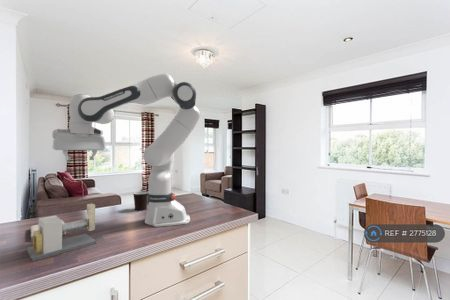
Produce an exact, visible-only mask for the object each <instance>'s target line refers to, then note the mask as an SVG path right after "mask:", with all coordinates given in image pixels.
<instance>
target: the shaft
mask: <svg viewBox="0 0 450 300" xmlns="http://www.w3.org/2000/svg"><path fill="white" fill-rule="evenodd" d="M83 228H86V230H88V232H91V231H95V230H96V204H95V203H87V204H86V219H85V218H84V219H81V220H75V221H70V222H64V224H62V232H66V233H67V232H70V231H73V230H79V229H83Z"/></svg>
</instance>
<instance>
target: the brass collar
mask: <svg viewBox="0 0 450 300" xmlns="http://www.w3.org/2000/svg"><path fill="white" fill-rule="evenodd" d="M42 239H43V234H42V233H41V232H40V231H39V230H36V231H33V241H32V247H33V250H34V251H35V253H36V254H40V253H42Z"/></svg>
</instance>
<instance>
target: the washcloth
mask: <svg viewBox="0 0 450 300" xmlns="http://www.w3.org/2000/svg"><path fill="white" fill-rule="evenodd" d="M61 220H62V219H61ZM64 223H65V222H64V220H62V224H64ZM36 230H38V224H35V225H31V226H30V228H29V231H30V242H32V243H33V231H36ZM66 234H67V231H66V232H62V237H63V236H66Z"/></svg>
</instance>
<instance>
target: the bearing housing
mask: <svg viewBox="0 0 450 300" xmlns="http://www.w3.org/2000/svg"><path fill="white" fill-rule="evenodd" d="M37 225H38V230H39V231H40V232H41V233H42V234H43V239H42V253H40V254H36V253H35V251H34V250H33V246H30V247H26V252H27V254H28V256H29V258H30V260H31V262H35V261H39V260H42V259H46V258H49V257H53V256H57V255H59V254H60V255H61V254H63V253H67V252H71V251H74V250H77V249H81V248H85V247H87V246H91V245H95V244H97V241H96V240H95V239H94V238H93V237H91V236H90V235H89V234H87V233H82V234H78V235H74V236H70V237H66V238H63V236H62V219H61V218H59V216H58V215H50V216H45V217H39V218H38V223H37Z"/></svg>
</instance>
